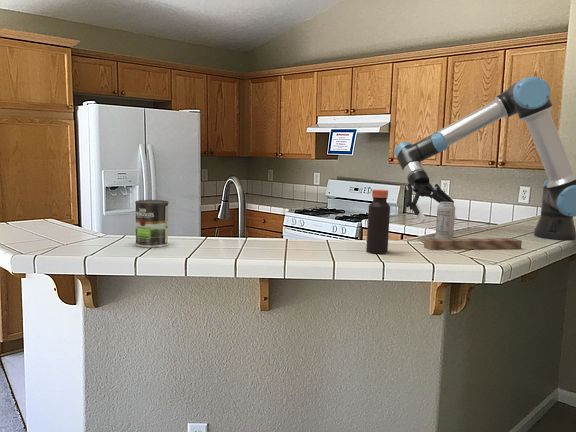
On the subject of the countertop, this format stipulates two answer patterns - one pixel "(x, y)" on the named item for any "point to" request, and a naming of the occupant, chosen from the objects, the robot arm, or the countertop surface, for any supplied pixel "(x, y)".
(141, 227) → the coffee can
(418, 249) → the countertop surface
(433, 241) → the walnut board
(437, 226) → the energy drink can
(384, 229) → the bottle
